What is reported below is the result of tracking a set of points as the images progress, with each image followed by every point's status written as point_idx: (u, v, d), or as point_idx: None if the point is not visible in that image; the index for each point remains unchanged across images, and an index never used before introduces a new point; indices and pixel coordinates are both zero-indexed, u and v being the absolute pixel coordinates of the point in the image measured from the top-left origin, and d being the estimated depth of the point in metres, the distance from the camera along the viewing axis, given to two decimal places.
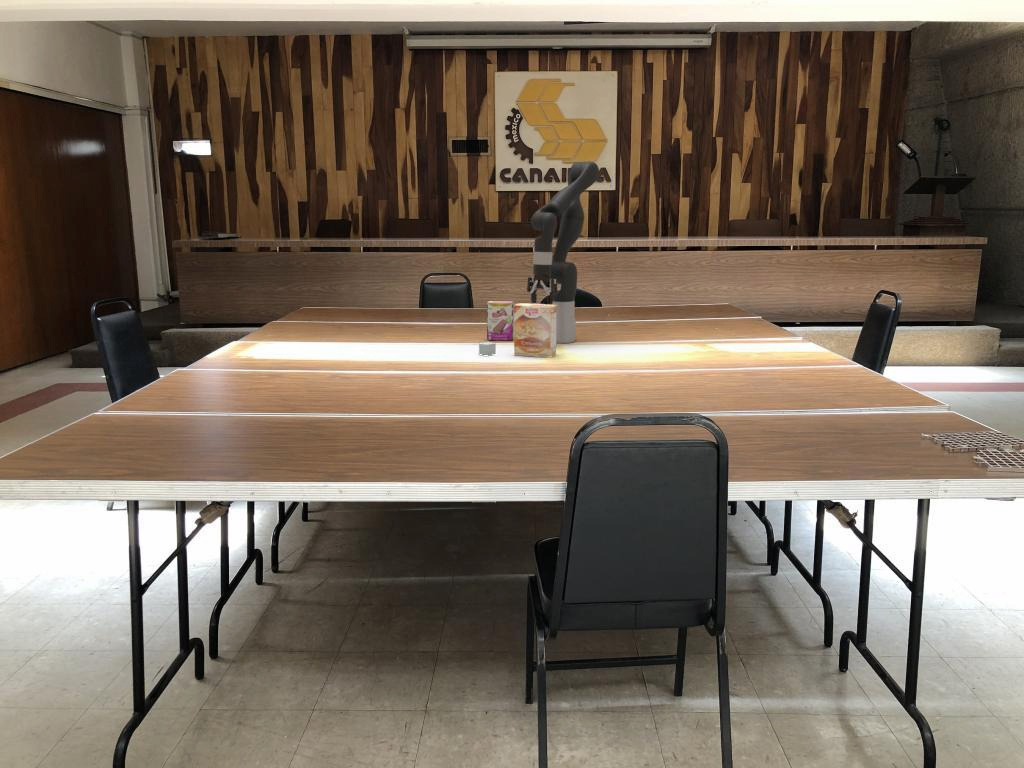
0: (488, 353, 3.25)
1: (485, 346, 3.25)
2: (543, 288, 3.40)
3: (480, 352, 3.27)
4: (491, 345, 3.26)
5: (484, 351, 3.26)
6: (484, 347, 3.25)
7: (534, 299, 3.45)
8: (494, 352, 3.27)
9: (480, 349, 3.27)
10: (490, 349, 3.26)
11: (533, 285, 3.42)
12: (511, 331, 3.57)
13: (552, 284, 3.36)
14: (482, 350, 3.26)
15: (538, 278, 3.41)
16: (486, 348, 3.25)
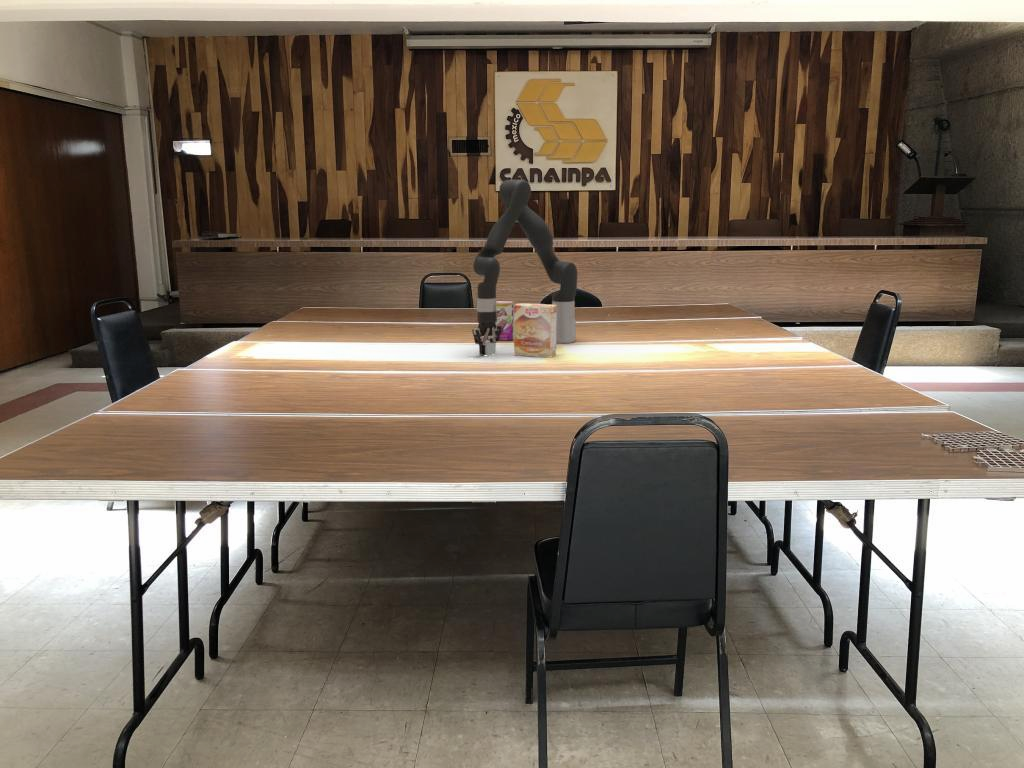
0: (488, 353, 3.25)
1: (485, 346, 3.25)
2: (490, 335, 3.26)
3: None
4: (491, 345, 3.26)
5: None
6: None
7: None
8: (494, 352, 3.27)
9: None
10: (490, 349, 3.26)
11: (485, 335, 3.23)
12: (511, 331, 3.57)
13: (500, 331, 3.29)
14: None
15: (487, 326, 3.24)
16: (486, 348, 3.25)
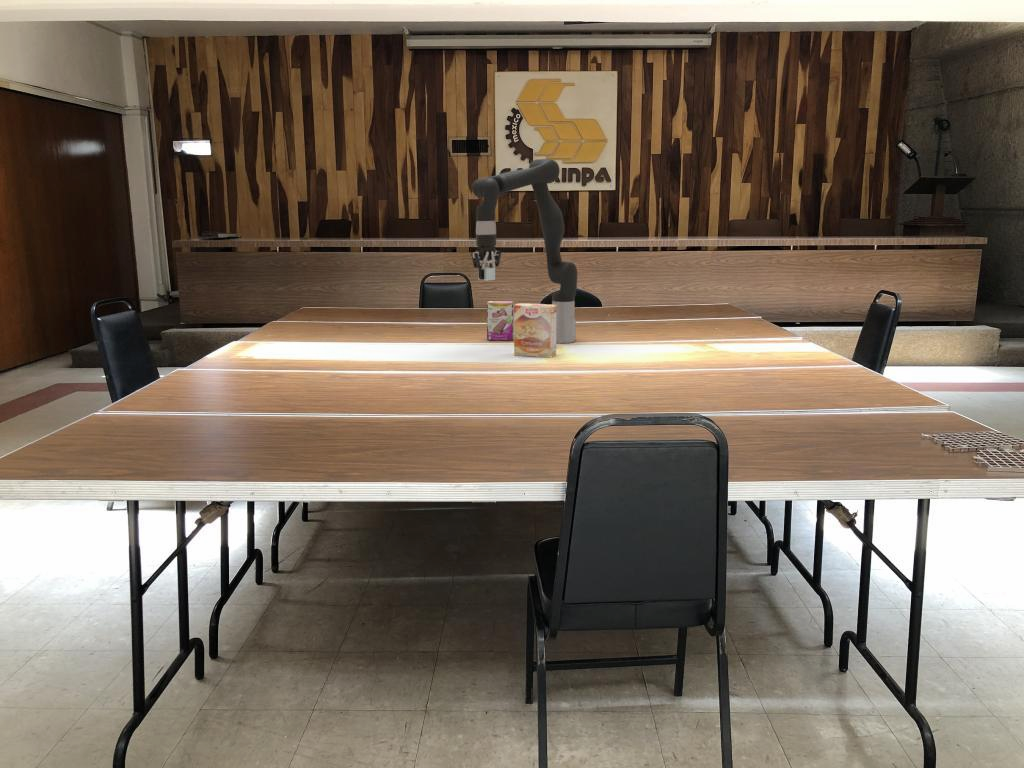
0: (487, 277, 3.19)
1: (484, 270, 3.18)
2: (489, 259, 3.20)
3: None
4: (490, 269, 3.19)
5: None
6: None
7: None
8: (493, 277, 3.21)
9: None
10: (489, 273, 3.19)
11: (484, 259, 3.17)
12: (511, 331, 3.57)
13: (499, 256, 3.23)
14: None
15: (486, 249, 3.18)
16: (485, 272, 3.18)
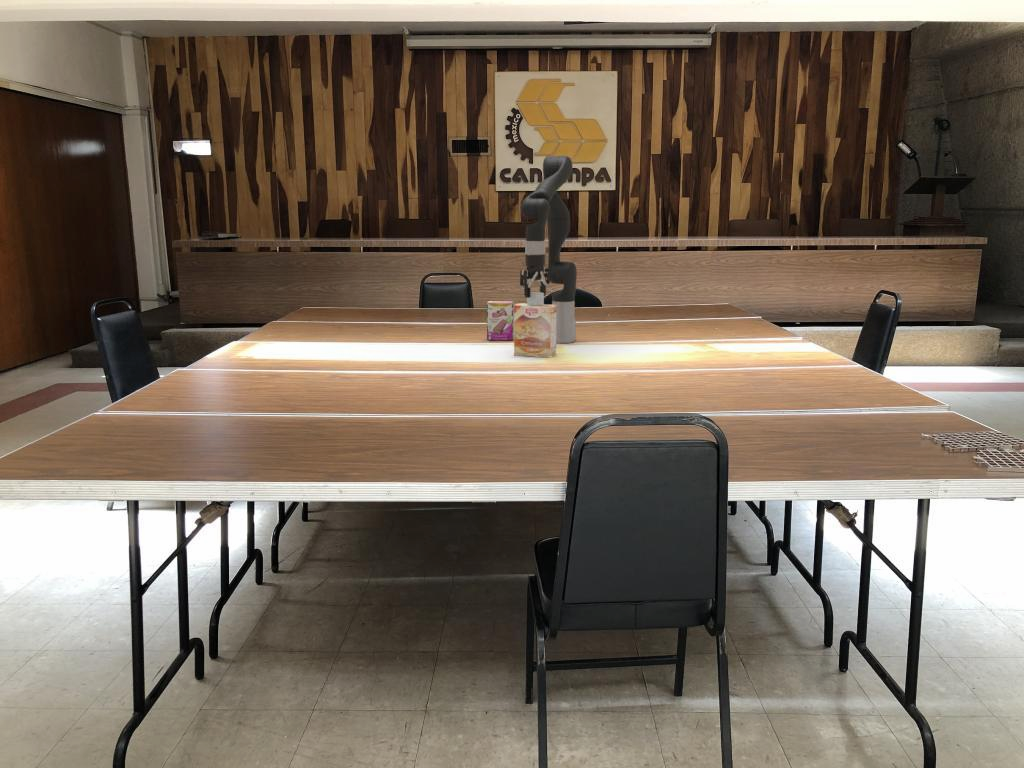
0: (536, 302, 3.20)
1: (533, 295, 3.19)
2: (539, 279, 3.21)
3: (528, 301, 3.22)
4: (539, 294, 3.20)
5: (532, 300, 3.20)
6: (532, 296, 3.20)
7: None
8: (542, 302, 3.22)
9: (528, 298, 3.22)
10: (538, 298, 3.20)
11: (532, 278, 3.17)
12: (511, 331, 3.57)
13: (548, 273, 3.24)
14: (531, 299, 3.21)
15: (535, 269, 3.18)
16: (534, 297, 3.19)
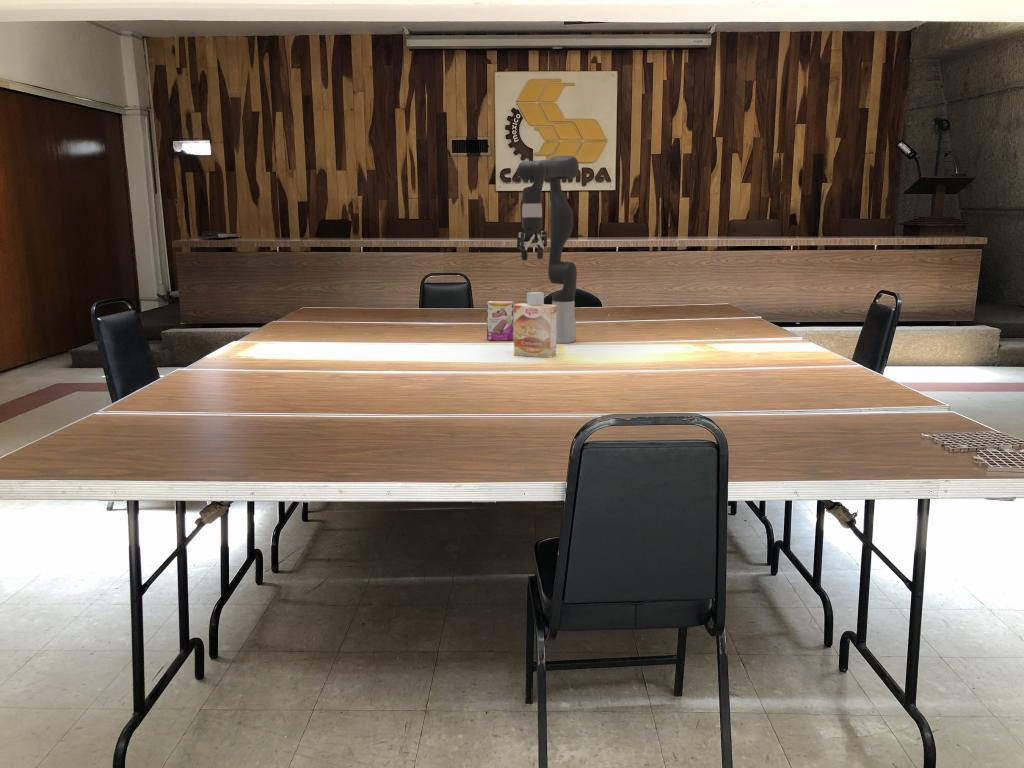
0: (536, 302, 3.20)
1: (533, 295, 3.19)
2: (536, 242, 3.20)
3: (528, 301, 3.22)
4: (539, 294, 3.20)
5: (532, 300, 3.20)
6: (532, 296, 3.20)
7: None
8: (542, 301, 3.22)
9: (528, 298, 3.22)
10: (538, 298, 3.20)
11: (529, 240, 3.16)
12: (511, 331, 3.57)
13: (545, 236, 3.23)
14: (531, 299, 3.21)
15: (532, 232, 3.17)
16: (534, 297, 3.19)
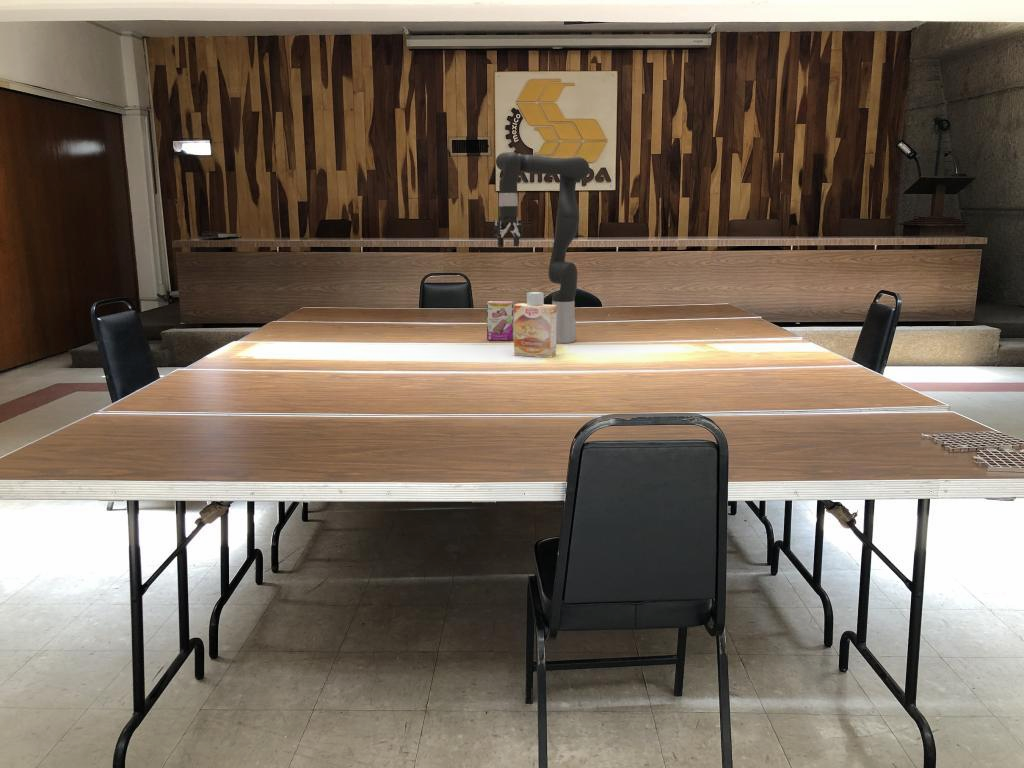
0: (536, 302, 3.20)
1: (533, 295, 3.19)
2: (513, 230, 3.35)
3: (528, 302, 3.22)
4: (539, 294, 3.20)
5: (532, 300, 3.20)
6: (532, 296, 3.20)
7: None
8: (542, 302, 3.22)
9: (528, 298, 3.22)
10: (538, 298, 3.20)
11: (505, 228, 3.31)
12: (511, 331, 3.57)
13: (522, 225, 3.38)
14: (531, 299, 3.21)
15: (508, 220, 3.32)
16: (534, 297, 3.19)
